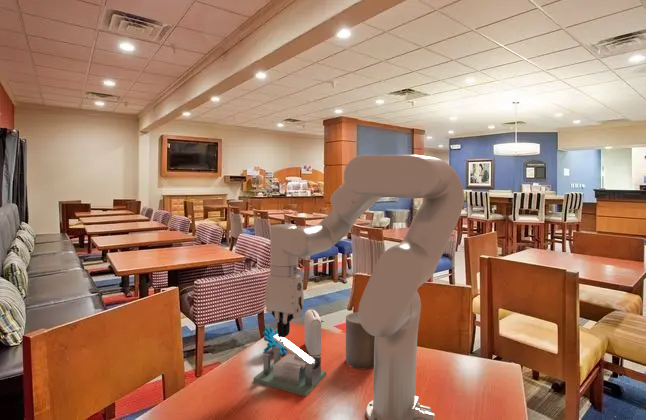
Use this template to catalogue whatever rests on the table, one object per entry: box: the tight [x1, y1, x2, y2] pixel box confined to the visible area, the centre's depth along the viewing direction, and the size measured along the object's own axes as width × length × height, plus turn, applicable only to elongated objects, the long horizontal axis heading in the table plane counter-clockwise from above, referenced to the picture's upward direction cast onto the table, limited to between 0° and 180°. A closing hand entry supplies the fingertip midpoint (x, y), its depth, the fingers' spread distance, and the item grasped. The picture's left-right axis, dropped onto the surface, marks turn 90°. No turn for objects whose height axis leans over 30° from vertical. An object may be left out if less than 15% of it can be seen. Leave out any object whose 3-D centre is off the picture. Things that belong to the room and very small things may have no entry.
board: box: [252, 361, 327, 397], centre depth 106 cm, size 16×12×1 cm
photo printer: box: [304, 309, 322, 356], centre depth 124 cm, size 10×4×12 cm, turn 13°
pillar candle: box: [345, 311, 375, 370], centre depth 115 cm, size 10×10×15 cm
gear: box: [262, 327, 288, 357], centre depth 122 cm, size 11×6×10 cm
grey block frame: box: [262, 346, 322, 386], centre depth 105 cm, size 15×8×6 cm, turn 64°
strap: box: [273, 334, 318, 367], centre depth 105 cm, size 14×3×1 cm, turn 66°
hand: (283, 335), depth 106 cm, fingers closed
